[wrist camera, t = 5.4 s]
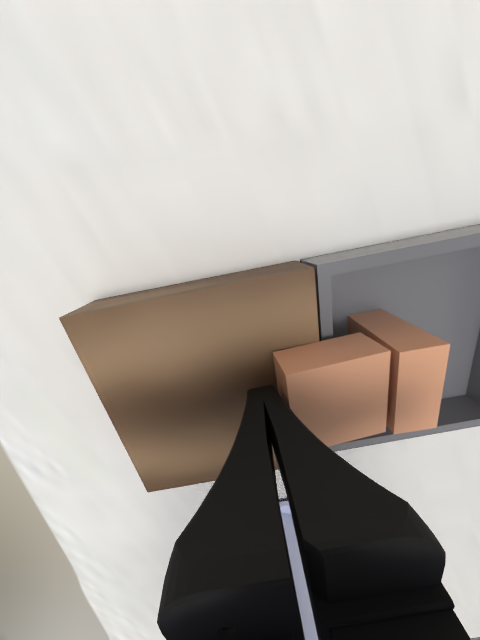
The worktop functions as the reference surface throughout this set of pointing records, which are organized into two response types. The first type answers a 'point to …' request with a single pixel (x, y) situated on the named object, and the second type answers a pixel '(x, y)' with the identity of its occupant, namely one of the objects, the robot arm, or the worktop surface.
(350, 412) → the tile
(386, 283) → the box
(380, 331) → the tile
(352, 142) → the worktop surface
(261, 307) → the board
